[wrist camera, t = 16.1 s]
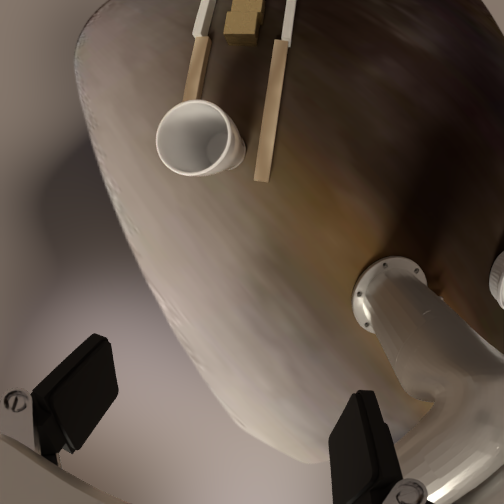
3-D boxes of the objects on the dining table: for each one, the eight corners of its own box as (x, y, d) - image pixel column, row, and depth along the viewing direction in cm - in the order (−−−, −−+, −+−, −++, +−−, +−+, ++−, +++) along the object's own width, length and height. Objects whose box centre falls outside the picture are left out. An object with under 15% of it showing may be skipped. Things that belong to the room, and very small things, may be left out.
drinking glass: (204, 178, 37) (158, 182, 22) (199, 130, 35) (151, 107, 21) (254, 172, 36) (236, 171, 22) (249, 123, 34) (228, 91, 20)
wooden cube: (259, 25, 30) (257, 11, 26) (257, 46, 31) (254, 34, 27) (232, 24, 30) (227, 11, 26) (228, 45, 31) (223, 33, 27)
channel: (288, 46, 31) (288, 40, 29) (268, 182, 36) (268, 182, 34) (200, 42, 31) (196, 36, 29) (177, 171, 37) (172, 171, 35)
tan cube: (265, 6, 29) (263, -8, 25) (262, 25, 30) (260, 12, 26) (238, 5, 29) (234, -8, 25) (235, 24, 30) (230, 11, 26)
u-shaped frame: (297, -6, 27) (297, -16, 25) (290, 47, 31) (290, 38, 28) (211, -10, 28) (207, -19, 25) (198, 42, 31) (192, 33, 28)
